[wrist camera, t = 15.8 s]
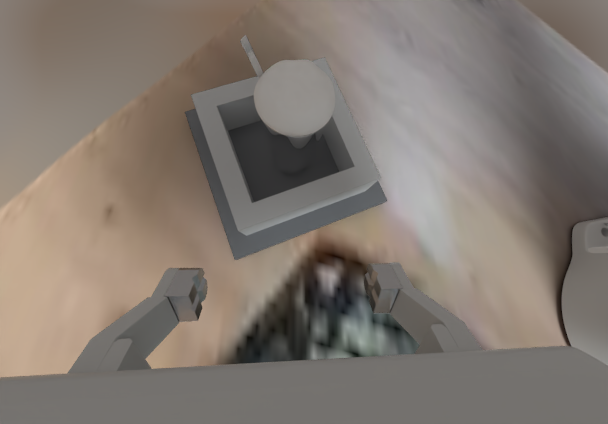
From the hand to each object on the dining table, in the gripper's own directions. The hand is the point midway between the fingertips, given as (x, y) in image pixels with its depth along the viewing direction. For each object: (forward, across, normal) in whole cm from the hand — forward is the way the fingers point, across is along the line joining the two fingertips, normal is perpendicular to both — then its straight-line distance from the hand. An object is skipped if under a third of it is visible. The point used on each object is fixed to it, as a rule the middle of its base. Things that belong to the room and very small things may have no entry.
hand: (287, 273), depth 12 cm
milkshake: (+12, 0, -2) cm, 12 cm away
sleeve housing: (+13, 0, -1) cm, 13 cm away
